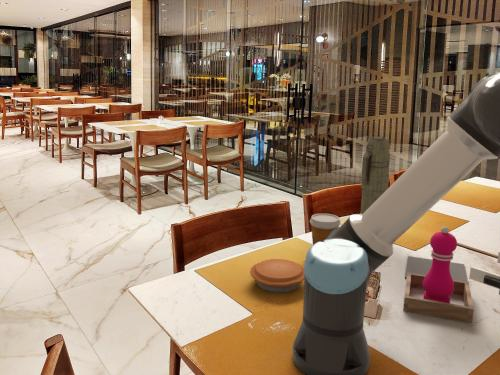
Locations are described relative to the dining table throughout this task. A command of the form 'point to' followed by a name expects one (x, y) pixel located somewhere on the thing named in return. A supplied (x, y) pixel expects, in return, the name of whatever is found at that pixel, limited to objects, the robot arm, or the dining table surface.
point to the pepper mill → (440, 267)
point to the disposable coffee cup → (323, 226)
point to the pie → (278, 275)
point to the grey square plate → (424, 266)
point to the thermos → (374, 171)
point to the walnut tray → (438, 307)
